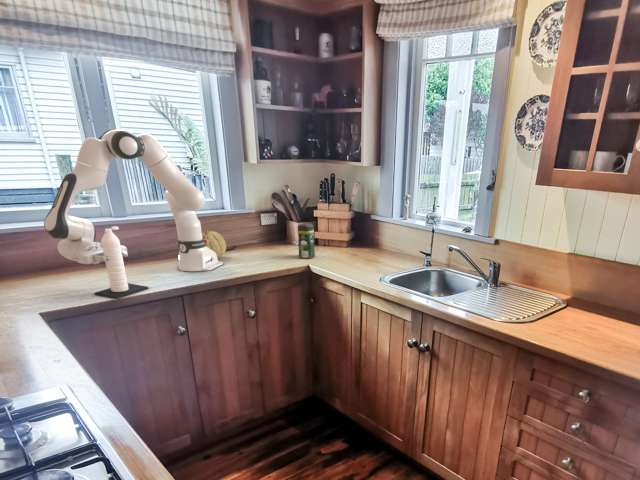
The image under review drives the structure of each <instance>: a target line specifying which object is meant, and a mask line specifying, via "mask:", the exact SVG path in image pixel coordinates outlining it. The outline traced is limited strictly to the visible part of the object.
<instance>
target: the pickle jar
mask: <svg viewBox="0 0 640 480" xmlns="http://www.w3.org/2000/svg"><path fill="white" fill-rule="evenodd" d="M297 234H298V258H299V259H303V260H304V259H305V260H307V259H312V258H314V257H315V256H316V253H315V251H316V250H315V235H314V234H315V228H314V224H313V223H312V222H304V223H301V224H299V225H297Z"/></svg>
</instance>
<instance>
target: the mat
mask: <svg viewBox="0 0 640 480" xmlns="http://www.w3.org/2000/svg"><path fill="white" fill-rule="evenodd" d="M127 284H128V288H129V289H128V290H127V291H122V292H112V291H111V287H109V288H106V289H103V290H99V291H95V292H94V294H95V295H96V296H101V297H105V298H112V299H120V298H124V297H126V296H130V295H133V294H136V293H138V292H142V291H145V290H148V289H149V286H146V285H140V284H135V283H130V282H129V283H128V282H127Z"/></svg>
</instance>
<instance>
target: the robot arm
mask: <svg viewBox="0 0 640 480" xmlns="http://www.w3.org/2000/svg"><path fill="white" fill-rule="evenodd" d="M115 158H117V159H120V160H134V159H139V161H141V162H142V164H143V165H144V166H145V168H146V169H147V171H149V173H150V174H151V175H152V177H153V178H154V180H155V181H157V183H158V184H159V185H161V187H163V188H164V189H165V191H164V197H165V200H166V202H167V204H168V205H169V208H170V211H171V213H172V217H173V219H174V222H175V227H176V234H177V247H178V249H179V250H178V261H179V262H178V270H180V271H184V272H203V271H204V272H205V271H206V272H207V271H211V270H214V269H216V268H218V267H220V266H222V265H224V262H223V261H221V260H218V259H219V258H217V255H216V253H215V252H214V251H212V250H211V249H210V248H208V247H207V246H206V244H205V243H209V240H208V239H202V234H203V232H202V225H201V220H200V219H199V218H198V216H197V214H196V212H197V211H200V210H202V209H203V208H204V207H205V205H206V197H205V194H204V193H203V191H202V190H200V189H199V188H197V186H195V184H194V183H193V182H192V181H191V180H190V179H189V178H188V177H187V175H185V174H184V173H183V172H182V171H181V170H180V168H179V167H178V166H177V164H176V163H175V162H174V161H173V159H172V158H171V156H170V154H169V153H168V152H167V151H166V149H165V148H164V147H163V145H162V144H160V142H159V141H158V140H157V139H156V138H155V137H154V136H153V135H151V134H149V133H140V134H138V135H136V134H134V133H132V132H131V131H127V130H125V129H124V130H123V129H118V128H117V129H109V130H106V131H105V132H104V133H103V134H102V135H101V136H100V137H98V138H96V137H87V138H85V139H84V140H83V141H82V144H81V146H80V148H79V151H78V154H77V159H76V163H75V166H74V167H73V169H72V170H71V172H69V173H67V174H66V175H65V176H64V177H63V178H62V180H61V183H60V185H59V188H58V190H57V193H56V195H55V198H54V200H53V202H52V204H51V207H50V210H49V212H48V213H47V214H46V216H45V218H44V221H43V226H44V229H45V231H46V232H47V234H48V235H49V236H50V237H51V238H53V239H60V241H59V242H58V243H57V251H58V253H59V254H60V255H61V256H62V257H63V258H65V259H67V260H70V261H74V262H76V263H79V264H82V265H98V264H100V263H102V262H104V263H105V261H108V257H107V256H104V252H103V247H102V243H101V241H99V242H97V241H96V237H97V231H96V227H95V225H94V224H93V222H92V221H91V220H90V219H87V218H82V217H79V216H73V215H69V211H70V209H71V206H72V203H73V201H74V198H75V196H76V195H78V194H79V193H83V192H88V191H95V190H97V189H101V188H102V187H103V186H104V185H105V183H106V181H107V178H108V173H109V168H110V164H111V162H112V160H113V159H115ZM120 247H121V251H122V257H125V258H126V257H129V253H128V248H127V247H126V246H125V245H121V244H120ZM234 248H236V245H235V246H233V245H232V247H229V248H226V251H230V250H233V249H234ZM226 251H225V252H226Z"/></svg>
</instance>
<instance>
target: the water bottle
mask: <svg viewBox="0 0 640 480" xmlns="http://www.w3.org/2000/svg"><path fill="white" fill-rule="evenodd" d="M119 229H120V228H119V226H111V227H109V228H104V234H103V236H102V237H101V241H100V242H101V243H102V247H103V252H104V256H107V257H108V261H105V262H104V263H105V266H106V271H107V277H108V282H109V286H110V287H109V288H111V291H112V292H122V291H127V290H128V289H129V288H128V284H127V283H128V279H127V273H126V268H125V265H124V264H125V261H124V258H123V256H122V251H121V247H120V245H121V242H120V241H121V240H120V239H119V238H118V236H117V235H116V234H114V232H113V231H116V230H117V231H118V230H119Z"/></svg>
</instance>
